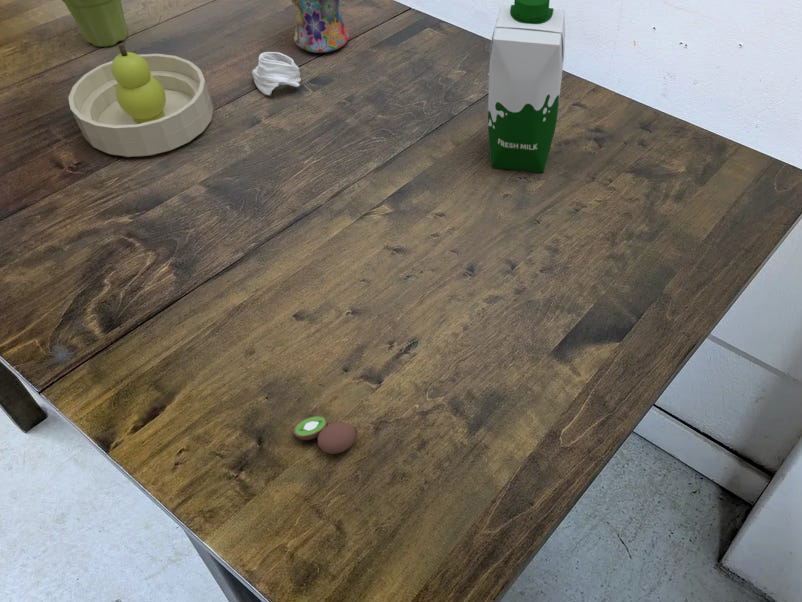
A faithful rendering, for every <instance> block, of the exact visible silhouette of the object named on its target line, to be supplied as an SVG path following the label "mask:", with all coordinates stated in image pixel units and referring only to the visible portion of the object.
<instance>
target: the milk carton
mask: <svg viewBox="0 0 802 602" xmlns="http://www.w3.org/2000/svg"><path fill="white" fill-rule="evenodd" d="M513 3H514V4H511V5H507V4H501V5H500V8H499V11H498V14H497V18H496V22H495V25H494V28H493V31H492V36H491V40H490V45H489V52H488V53H489V54H488V56H490V59H489V67H488V68H489V69H488V97H487V98H488V103H487V127H488V128H487V130H488V131H487V132H488V143H489V144H488V145H489V156H490V168H492V169H504V170H513V171H521V172H533V173H544V172H545V169H546V165H547V161H548V157H549V154H550V151H551V147H552V143H553V139H554V136H555V132H556V127H557V120H558V112H559V106H560V105H559V104H560V95H561V87H562V78H563V70H564V61H565V51H566V50H565V47H566V17H565V16H566V13H565V10H564V9H555V8H553V7H550V0H514V2H513Z"/></svg>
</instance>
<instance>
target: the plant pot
mask: <svg viewBox="0 0 802 602" xmlns="http://www.w3.org/2000/svg"><path fill="white" fill-rule="evenodd" d="M61 1H62V2H63V4H64V5H65V7H66V8H67V10H68V11H69V13H70V14H71V17H72V18H73V19H74V21H75V23H76V24H77V26H78V29H80V31H81V33H82V35H83V37H84V38H85V40H86V41H87V43H89V44H91V45H93V46H94V47H111V46H115V45H117V43H118V42H124V41H125V40H126V39H127V38H128V37H129V36H128V35H129V31H128V27H127V22H126V19H125V14H124V10H123V4H122V0H61Z"/></svg>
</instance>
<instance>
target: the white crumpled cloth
mask: <svg viewBox="0 0 802 602" xmlns="http://www.w3.org/2000/svg"><path fill="white" fill-rule="evenodd" d="M251 75H252V77H253V81H254V84H255V86H256V88H257V89H258V90H259V91H260V92H261V93H262V94H263V95H265V96H272V91H274V90H275V88H278V87H279V86H280V85H288V86H290V87H294V88H299V87H300V83H301V81H302V78H301V73H300V67H299V66H298V65H297V64H296V63H295V61H294V59H293V58H292V57H290V56H289V55H286V54H285V53H281V52H279V51H265V52H261V53H260V54H259V56H258V64H257V66H256V67H255V68H253V69H252V70H251Z"/></svg>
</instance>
